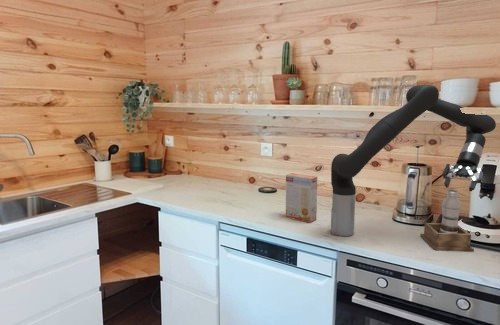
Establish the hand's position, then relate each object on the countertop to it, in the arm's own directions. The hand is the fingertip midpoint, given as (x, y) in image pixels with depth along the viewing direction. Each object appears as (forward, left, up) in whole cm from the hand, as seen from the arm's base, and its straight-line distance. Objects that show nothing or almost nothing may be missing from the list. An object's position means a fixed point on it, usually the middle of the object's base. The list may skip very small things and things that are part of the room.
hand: (458, 188), depth 140 cm
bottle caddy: (-6, -6, -21) cm, 22 cm away
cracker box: (-61, +19, -21) cm, 67 cm away
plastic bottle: (-5, -6, -20) cm, 21 cm away
